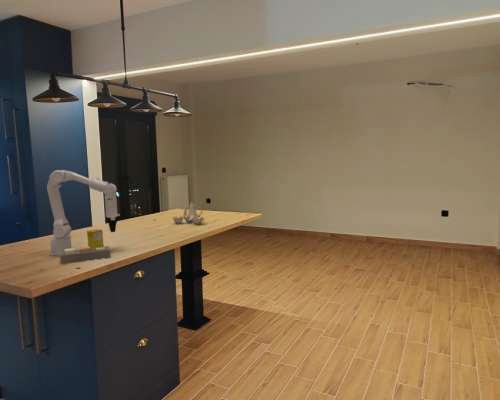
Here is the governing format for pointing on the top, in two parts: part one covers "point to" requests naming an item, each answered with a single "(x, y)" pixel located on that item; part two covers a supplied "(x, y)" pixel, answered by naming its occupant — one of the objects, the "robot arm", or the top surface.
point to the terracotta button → (85, 249)
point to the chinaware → (190, 216)
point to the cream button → (69, 251)
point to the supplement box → (95, 238)
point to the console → (85, 255)
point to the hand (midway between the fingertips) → (112, 231)
